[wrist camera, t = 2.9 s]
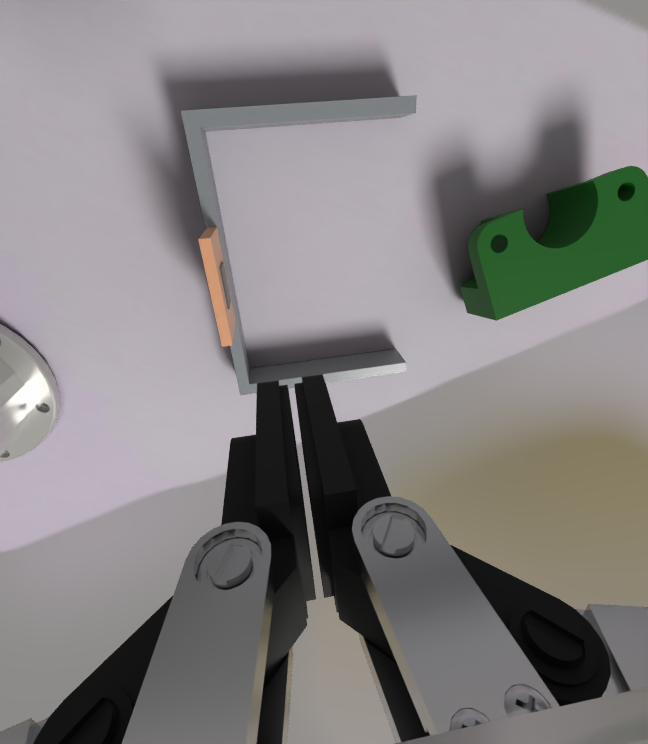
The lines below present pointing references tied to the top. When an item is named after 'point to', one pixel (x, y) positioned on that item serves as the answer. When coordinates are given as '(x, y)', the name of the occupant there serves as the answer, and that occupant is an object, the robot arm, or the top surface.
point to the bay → (215, 240)
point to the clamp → (559, 245)
